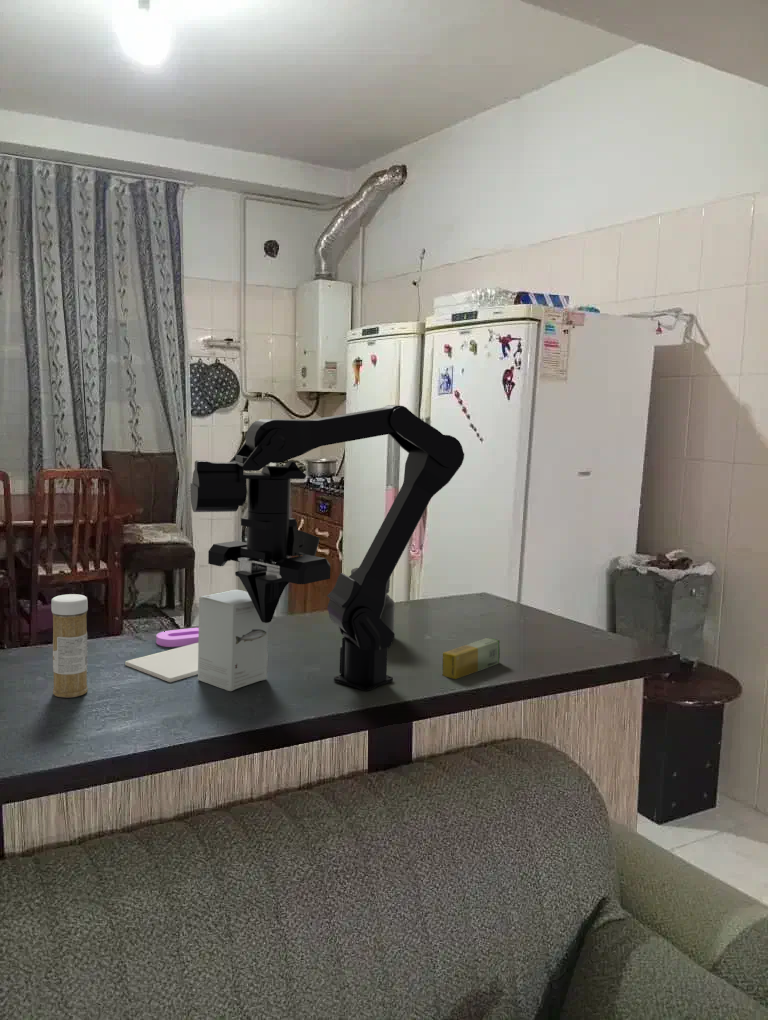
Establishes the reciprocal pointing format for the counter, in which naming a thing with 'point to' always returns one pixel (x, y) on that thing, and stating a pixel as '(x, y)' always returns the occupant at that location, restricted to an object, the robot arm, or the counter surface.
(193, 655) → the mat
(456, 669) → the medication box
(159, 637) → the bracket
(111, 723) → the counter surface
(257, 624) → the supplement box
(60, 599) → the sprinkles bottle
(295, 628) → the counter surface
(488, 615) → the counter surface
